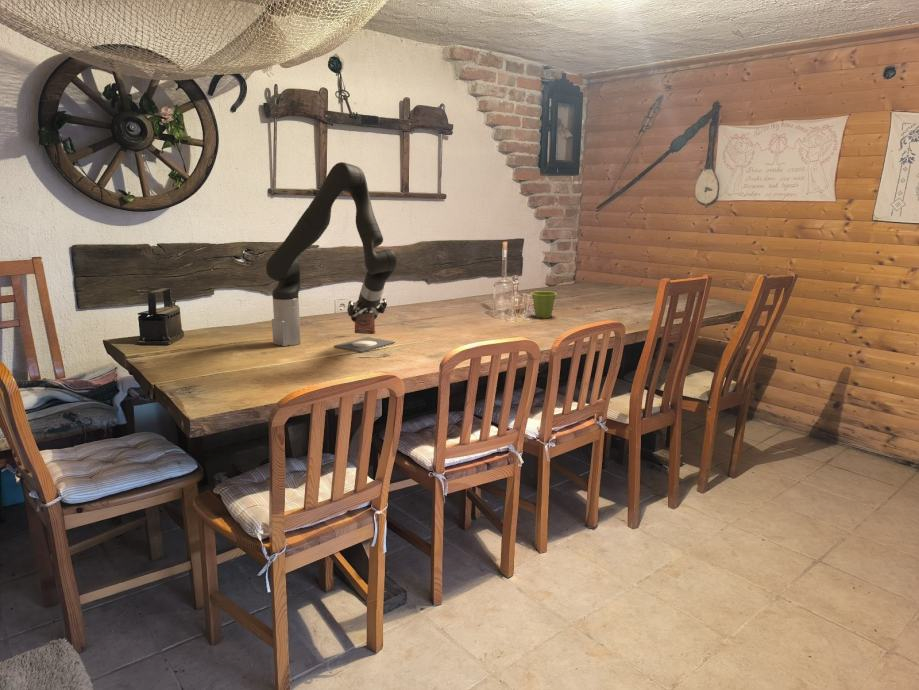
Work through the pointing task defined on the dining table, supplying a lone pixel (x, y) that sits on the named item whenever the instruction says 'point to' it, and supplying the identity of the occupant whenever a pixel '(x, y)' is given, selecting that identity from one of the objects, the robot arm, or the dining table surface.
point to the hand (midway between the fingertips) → (363, 318)
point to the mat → (363, 344)
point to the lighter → (365, 323)
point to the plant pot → (543, 303)
